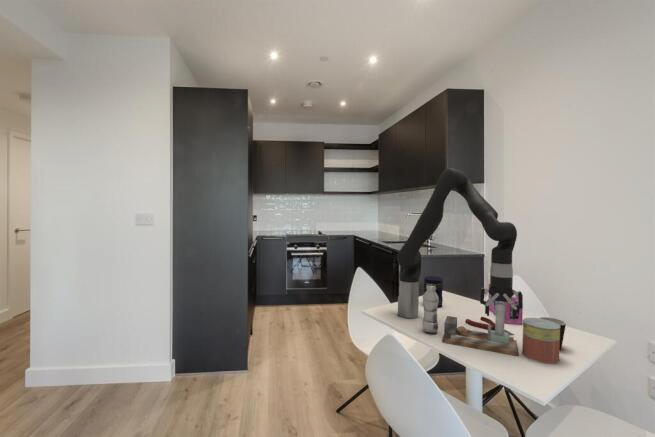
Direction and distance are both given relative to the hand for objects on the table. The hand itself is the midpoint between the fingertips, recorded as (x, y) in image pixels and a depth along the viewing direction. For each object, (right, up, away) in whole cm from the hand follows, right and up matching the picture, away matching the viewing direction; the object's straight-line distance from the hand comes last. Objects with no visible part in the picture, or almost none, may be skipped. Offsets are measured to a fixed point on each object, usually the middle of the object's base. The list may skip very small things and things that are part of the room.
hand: (500, 317), depth 125 cm
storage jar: (-9, -10, +53) cm, 54 cm away
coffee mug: (+21, -12, +2) cm, 24 cm away
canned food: (+10, -12, -7) cm, 17 cm away
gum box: (+21, -11, +36) cm, 43 cm away
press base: (-7, -11, +4) cm, 14 cm away
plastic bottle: (-22, -11, +15) cm, 29 cm away
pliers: (+4, -12, +20) cm, 23 cm away
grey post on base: (-1, -10, +1) cm, 10 cm away
